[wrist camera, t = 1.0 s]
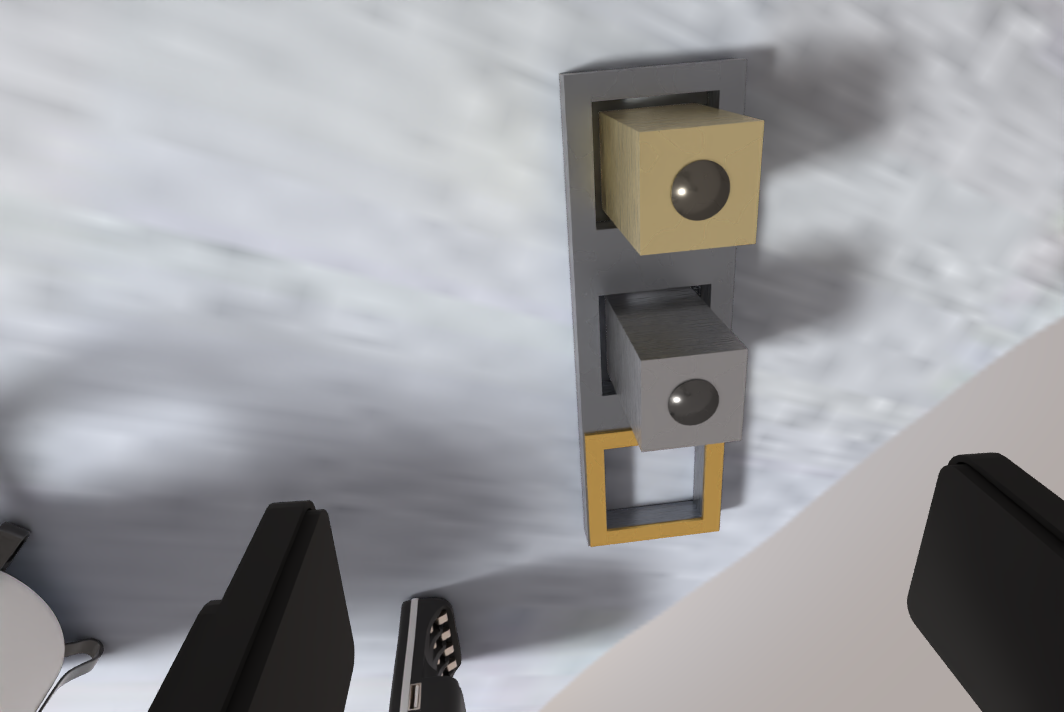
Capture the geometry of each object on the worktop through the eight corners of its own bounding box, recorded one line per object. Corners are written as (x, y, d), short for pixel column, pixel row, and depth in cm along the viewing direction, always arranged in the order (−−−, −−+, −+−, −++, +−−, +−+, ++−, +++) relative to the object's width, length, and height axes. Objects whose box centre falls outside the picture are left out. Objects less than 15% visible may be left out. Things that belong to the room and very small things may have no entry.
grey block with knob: (604, 294, 34) (641, 362, 27) (689, 285, 34) (748, 350, 27) (606, 371, 36) (642, 453, 29) (687, 361, 36) (742, 441, 29)
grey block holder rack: (558, 73, 29) (564, 75, 28) (733, 58, 30) (748, 58, 28) (584, 528, 41) (589, 548, 39) (710, 512, 41) (720, 532, 39)
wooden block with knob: (598, 111, 30) (640, 132, 23) (694, 102, 31) (765, 120, 23) (601, 208, 32) (640, 256, 25) (691, 199, 32) (756, 244, 25)
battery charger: (474, 662, 45) (476, 846, 35) (418, 669, 45) (403, 856, 34) (460, 586, 42) (458, 763, 32) (400, 594, 42) (379, 774, 31)
